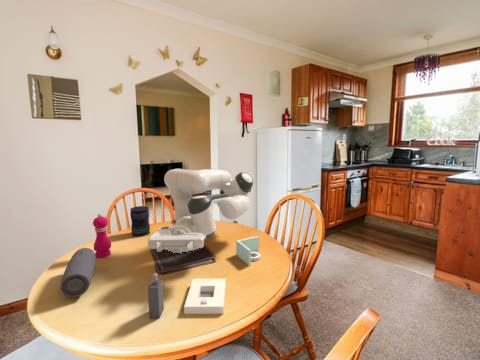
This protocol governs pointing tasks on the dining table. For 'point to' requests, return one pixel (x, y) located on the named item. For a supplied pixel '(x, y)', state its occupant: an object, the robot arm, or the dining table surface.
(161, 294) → the grey bottle
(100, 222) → the pepper mill
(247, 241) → the right angle wall
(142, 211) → the storage jar
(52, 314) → the dining table surface
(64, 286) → the bluetooth speaker
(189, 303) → the socket plate
